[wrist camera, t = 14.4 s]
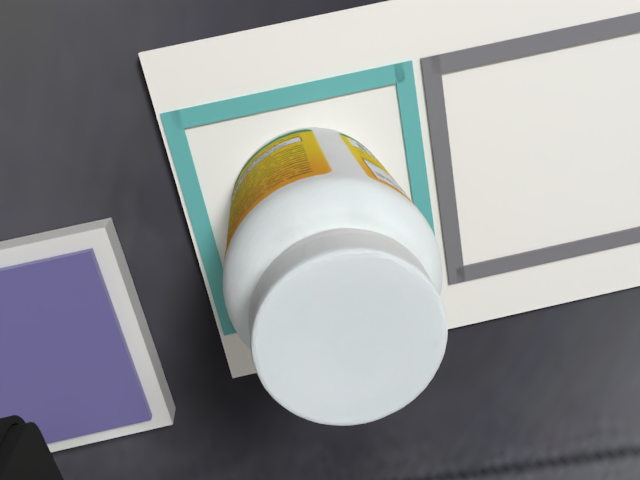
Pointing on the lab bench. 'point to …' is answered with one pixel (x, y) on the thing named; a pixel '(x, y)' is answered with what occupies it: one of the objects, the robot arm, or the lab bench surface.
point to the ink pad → (77, 339)
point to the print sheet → (434, 136)
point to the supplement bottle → (332, 279)
